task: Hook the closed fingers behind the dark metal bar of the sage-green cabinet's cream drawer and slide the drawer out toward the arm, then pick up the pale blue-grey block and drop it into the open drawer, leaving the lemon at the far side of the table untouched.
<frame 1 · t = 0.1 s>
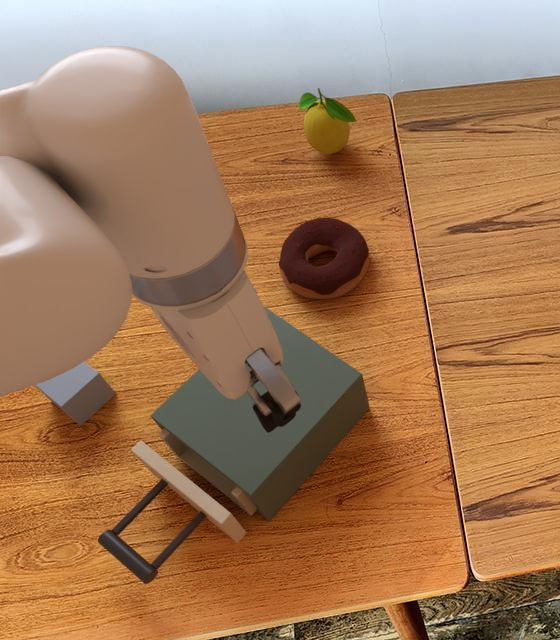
hand: (245, 377, 60), 17 cm above the table, tool pointing down, fingers open, 9 cm apart
block: (84, 397, 77), on the table
lemon: (332, 151, 97), on the table
donut: (326, 269, 87), on the table
cabinet: (274, 427, 76), on the table
drawer: (210, 470, 70), point 4 cm above the table, slide at 2.0 cm
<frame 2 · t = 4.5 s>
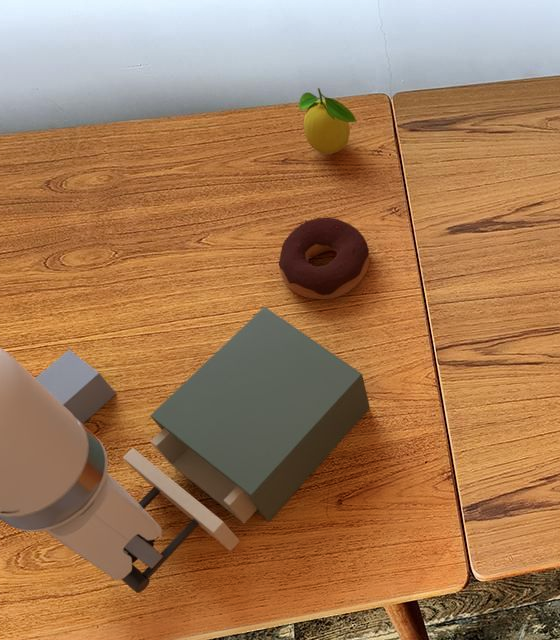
hand: (140, 544, 66), 4 cm above the table, tool pointing down, fingers closed
drawer: (203, 478, 69), point 4 cm above the table, slide at 2.9 cm
everything else where it was.
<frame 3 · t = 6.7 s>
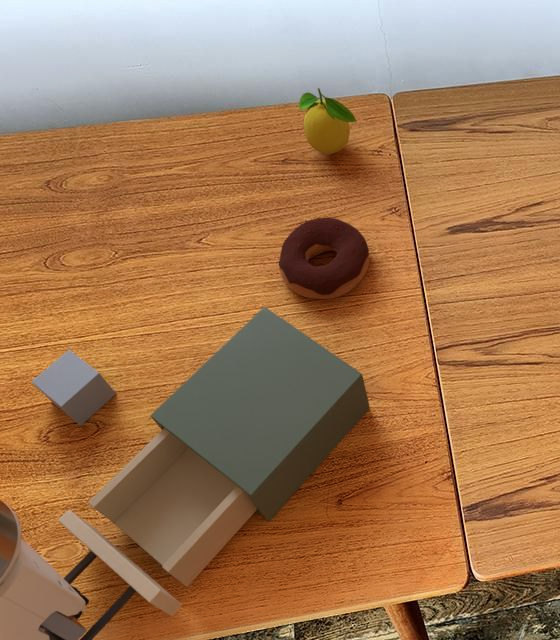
hand: (68, 611, 62), 4 cm above the table, tool pointing down, fingers closed
drawer: (144, 539, 66), point 4 cm above the table, slide at 9.8 cm
everything else where it was.
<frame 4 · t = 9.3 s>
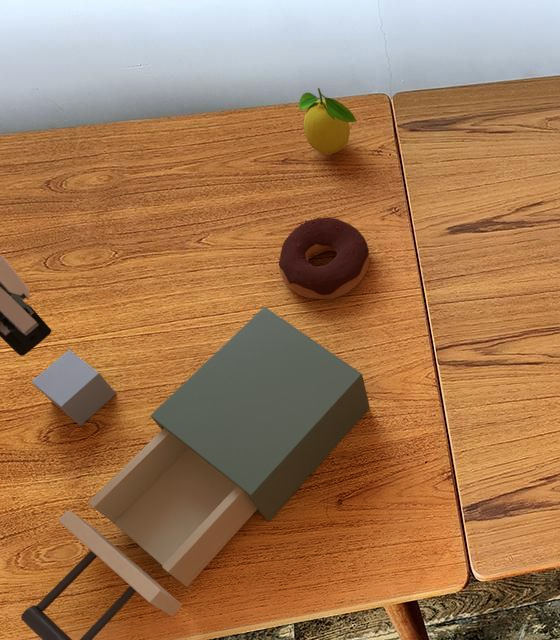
hand: (21, 331, 66), 13 cm above the table, tool pointing down, fingers closed
nothing on the table moved.
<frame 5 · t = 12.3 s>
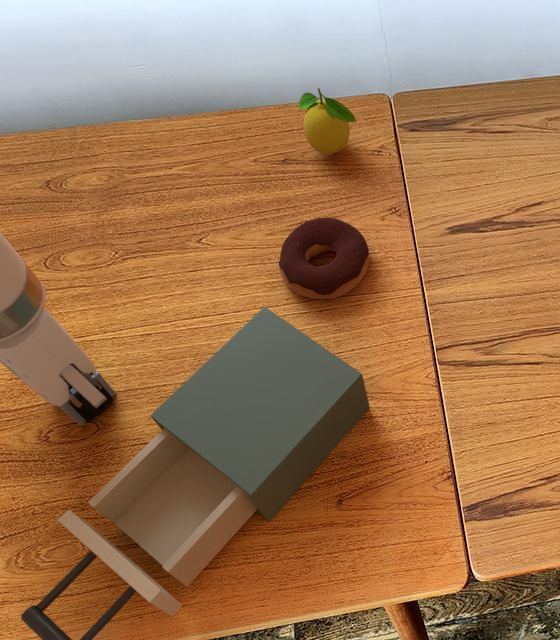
hand: (82, 395, 77), 1 cm above the table, tool pointing down, fingers closed on block, 4 cm apart
block: (84, 397, 77), on the table, touching gripper
everything else where it was.
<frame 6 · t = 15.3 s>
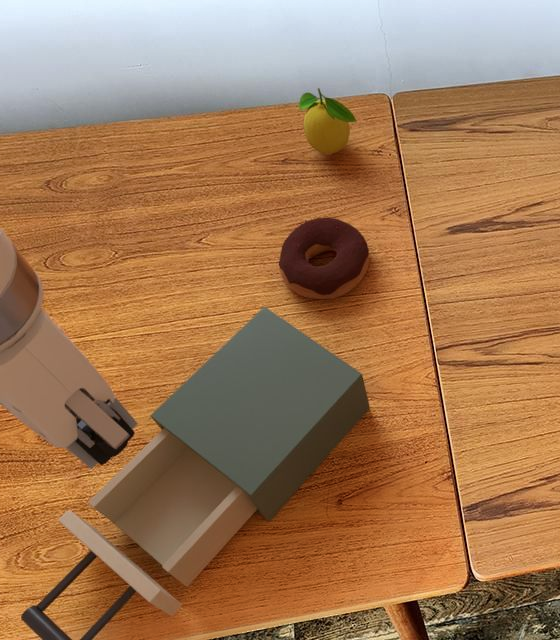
hand: (91, 427, 57), 17 cm above the table, tool pointing down, fingers closed on block, 4 cm apart
block: (95, 430, 58), point 17 cm above the table, touching gripper
everything else where it was.
when the fingers open (8 cm above the table, at t = 18.3 s): block drops 6 cm, resting on drawer.
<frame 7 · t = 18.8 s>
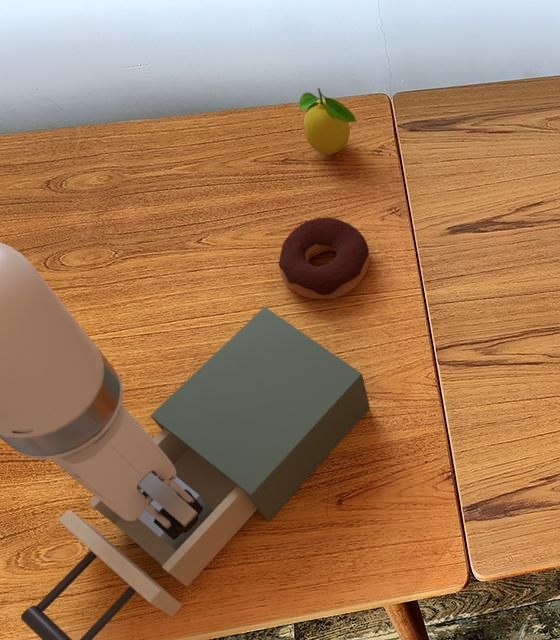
hand: (145, 488, 62), 10 cm above the table, tool pointing down, fingers open, 9 cm apart
block: (178, 516, 69), point 2 cm above the table, touching drawer
drawer: (144, 539, 66), point 4 cm above the table, slide at 9.8 cm, touching block
everything else where it was.
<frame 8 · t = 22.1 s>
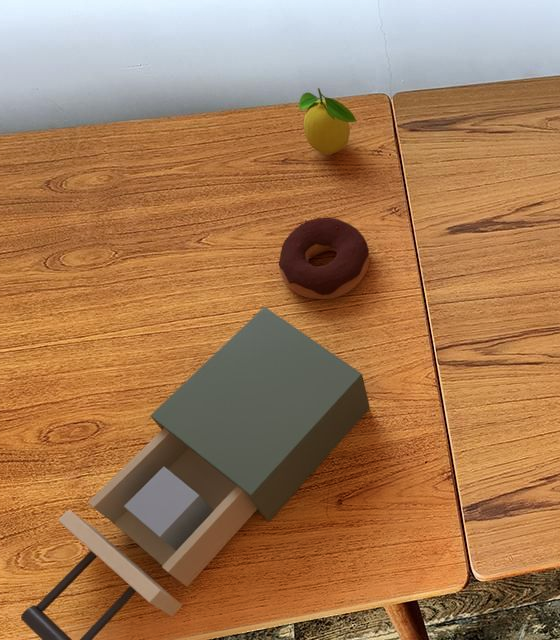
nothing on the table moved.
at the end: drawer slide at 9.8 cm; block inside the target area in the drawer (6.2 cm from its centre), point 2.0 cm above the cabinet's base; lemon moved 0.2 cm from its start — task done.
